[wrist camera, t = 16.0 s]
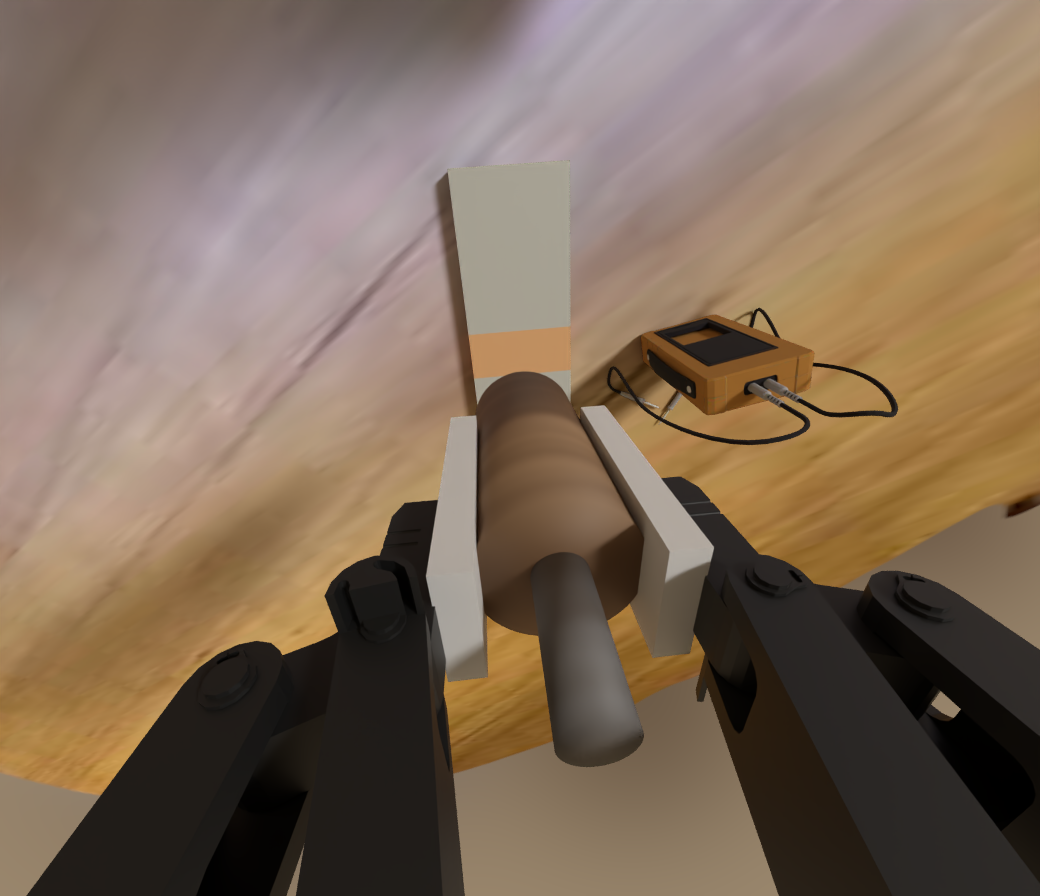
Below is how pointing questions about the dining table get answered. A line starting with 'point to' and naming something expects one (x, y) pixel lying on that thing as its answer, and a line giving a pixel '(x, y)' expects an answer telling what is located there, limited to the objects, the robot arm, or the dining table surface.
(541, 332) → the panel
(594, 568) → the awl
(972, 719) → the robot arm
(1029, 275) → the dining table surface
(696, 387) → the multimeter
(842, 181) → the dining table surface
